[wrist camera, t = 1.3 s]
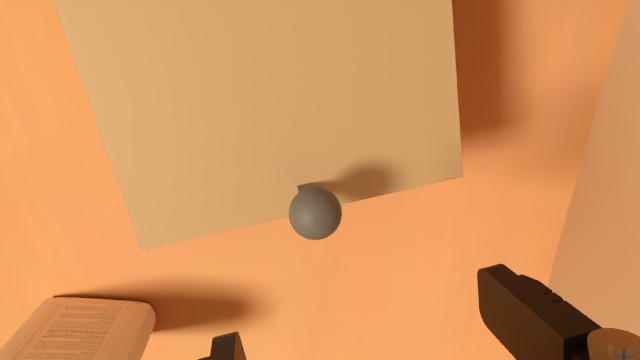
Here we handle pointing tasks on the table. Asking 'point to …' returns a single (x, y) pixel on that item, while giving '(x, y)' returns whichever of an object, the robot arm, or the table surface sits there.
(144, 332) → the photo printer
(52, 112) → the table surface
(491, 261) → the table surface
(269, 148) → the carton flap
